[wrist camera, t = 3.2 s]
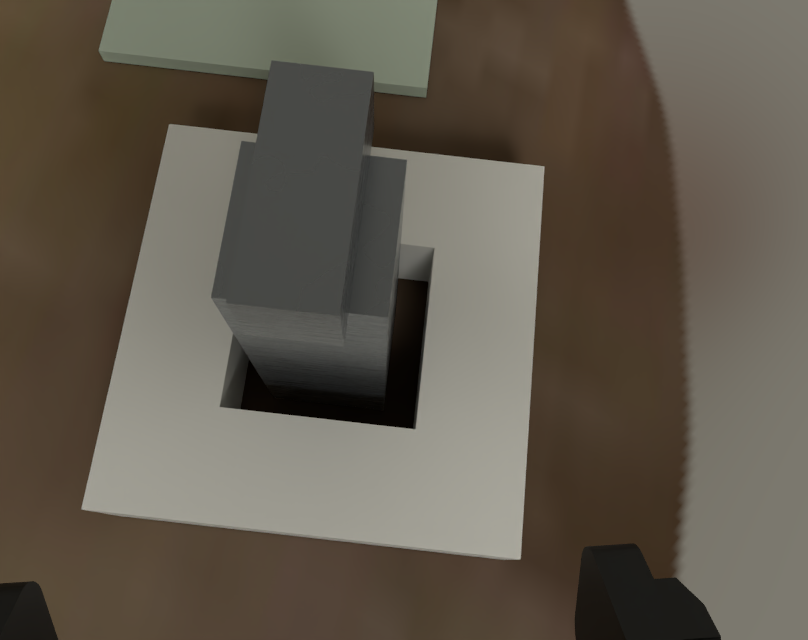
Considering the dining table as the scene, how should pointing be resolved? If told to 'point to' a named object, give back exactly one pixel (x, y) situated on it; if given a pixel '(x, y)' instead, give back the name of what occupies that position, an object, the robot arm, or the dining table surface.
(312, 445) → the key socket
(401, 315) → the dining table surface
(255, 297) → the t-key
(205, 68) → the sage mat
